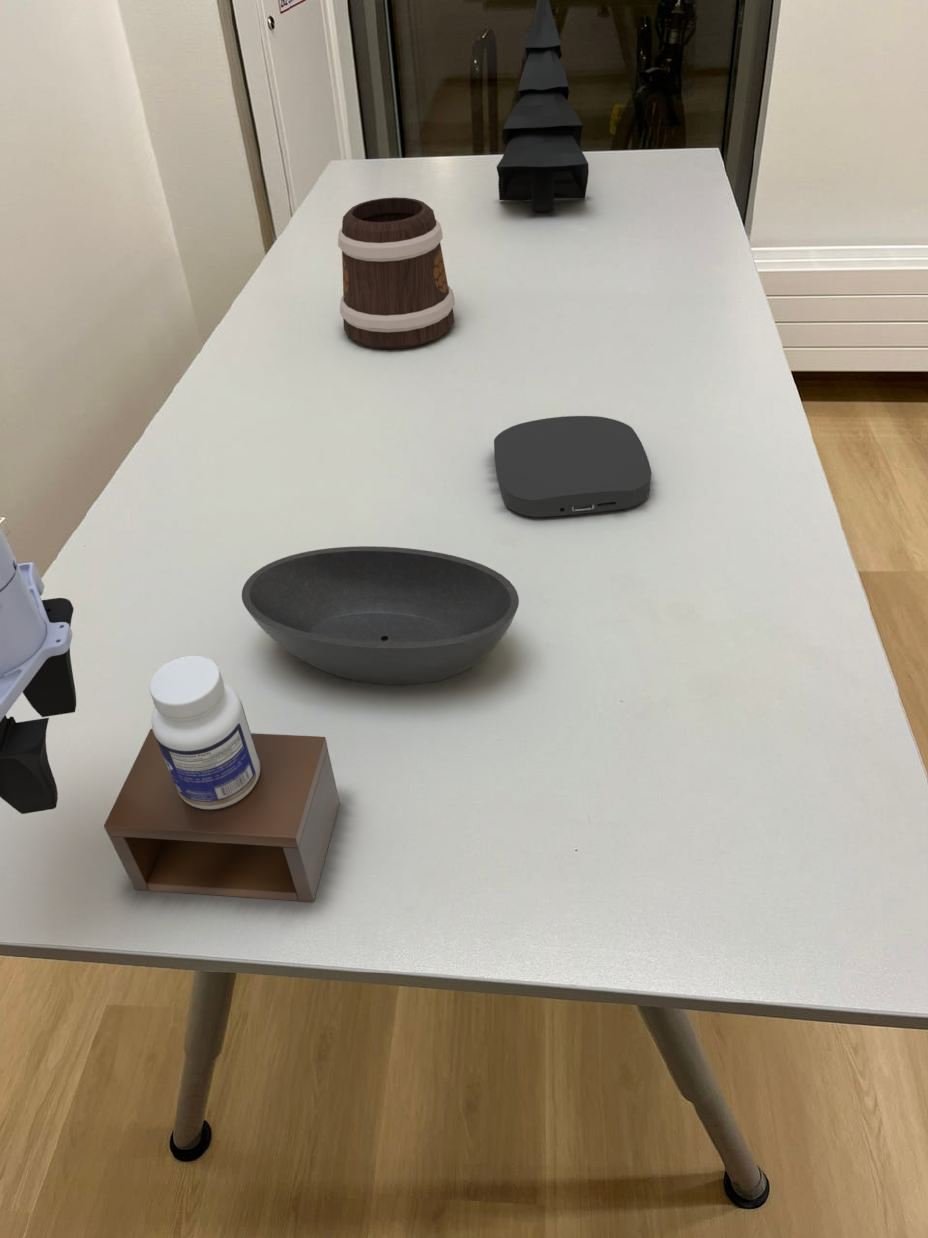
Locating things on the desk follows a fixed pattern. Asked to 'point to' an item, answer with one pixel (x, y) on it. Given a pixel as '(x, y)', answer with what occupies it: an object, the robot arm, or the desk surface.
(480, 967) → the desk surface
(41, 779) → the robot arm
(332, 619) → the bowl
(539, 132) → the decorative tree
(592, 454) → the media streaming box
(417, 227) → the mug
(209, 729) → the pill bottle
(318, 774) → the shelf
